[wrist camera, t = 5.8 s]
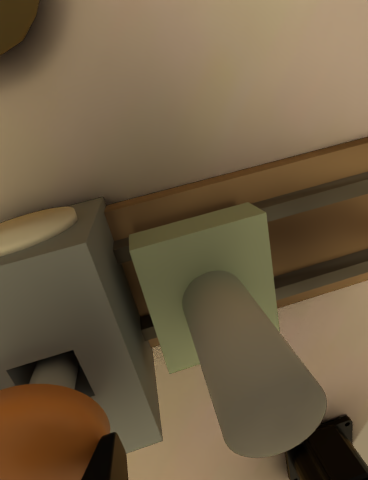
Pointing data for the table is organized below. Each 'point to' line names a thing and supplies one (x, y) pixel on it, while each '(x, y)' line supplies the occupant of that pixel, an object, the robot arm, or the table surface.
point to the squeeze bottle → (15, 21)
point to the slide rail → (272, 220)
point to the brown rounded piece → (49, 424)
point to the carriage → (228, 326)
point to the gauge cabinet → (76, 315)
